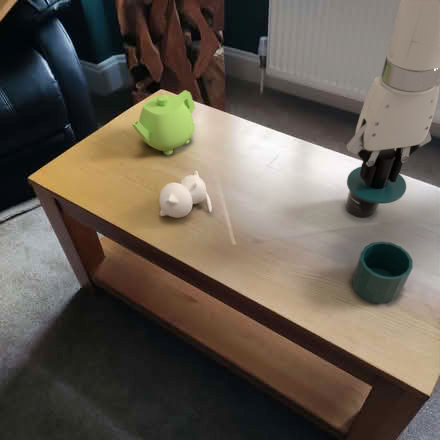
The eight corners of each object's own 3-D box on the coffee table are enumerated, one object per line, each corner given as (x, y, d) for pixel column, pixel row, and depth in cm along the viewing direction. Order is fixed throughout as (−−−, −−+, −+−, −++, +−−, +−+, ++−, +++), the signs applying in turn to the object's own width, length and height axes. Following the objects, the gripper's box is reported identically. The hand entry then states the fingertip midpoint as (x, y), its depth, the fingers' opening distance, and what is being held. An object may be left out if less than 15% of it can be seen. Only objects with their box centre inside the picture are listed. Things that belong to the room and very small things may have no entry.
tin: (389, 263, 88) (400, 238, 82) (408, 299, 82) (421, 275, 76) (345, 270, 87) (353, 245, 81) (362, 307, 81) (371, 282, 76)
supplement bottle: (342, 215, 96) (353, 171, 87) (348, 196, 100) (359, 152, 91) (373, 223, 95) (388, 178, 85) (378, 203, 98) (393, 158, 89)
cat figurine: (197, 159, 95) (157, 185, 90) (227, 197, 96) (189, 225, 91) (185, 178, 103) (147, 203, 98) (212, 213, 104) (177, 239, 98)
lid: (391, 166, 79) (402, 132, 74) (413, 202, 73) (428, 167, 68) (338, 173, 79) (346, 139, 73) (357, 210, 73) (366, 175, 67)
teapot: (157, 169, 109) (149, 124, 99) (123, 149, 115) (112, 105, 105) (211, 134, 118) (208, 89, 108) (177, 117, 123) (172, 73, 113)
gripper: (454, 53, 63) (414, 160, 77) (344, 66, 62) (324, 171, 76) (481, 78, 58) (433, 186, 73) (362, 92, 57) (337, 199, 72)
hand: (377, 178), depth 74 cm, fingers closed on lid, 3 cm apart
